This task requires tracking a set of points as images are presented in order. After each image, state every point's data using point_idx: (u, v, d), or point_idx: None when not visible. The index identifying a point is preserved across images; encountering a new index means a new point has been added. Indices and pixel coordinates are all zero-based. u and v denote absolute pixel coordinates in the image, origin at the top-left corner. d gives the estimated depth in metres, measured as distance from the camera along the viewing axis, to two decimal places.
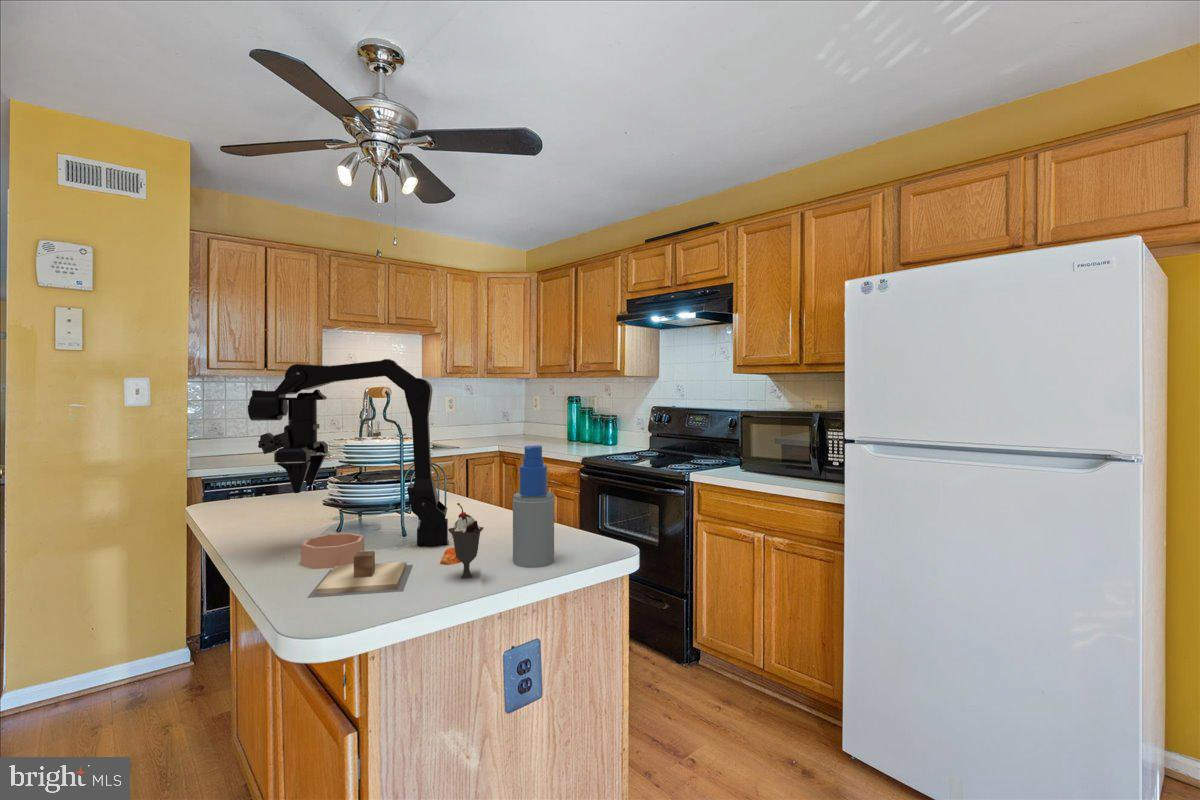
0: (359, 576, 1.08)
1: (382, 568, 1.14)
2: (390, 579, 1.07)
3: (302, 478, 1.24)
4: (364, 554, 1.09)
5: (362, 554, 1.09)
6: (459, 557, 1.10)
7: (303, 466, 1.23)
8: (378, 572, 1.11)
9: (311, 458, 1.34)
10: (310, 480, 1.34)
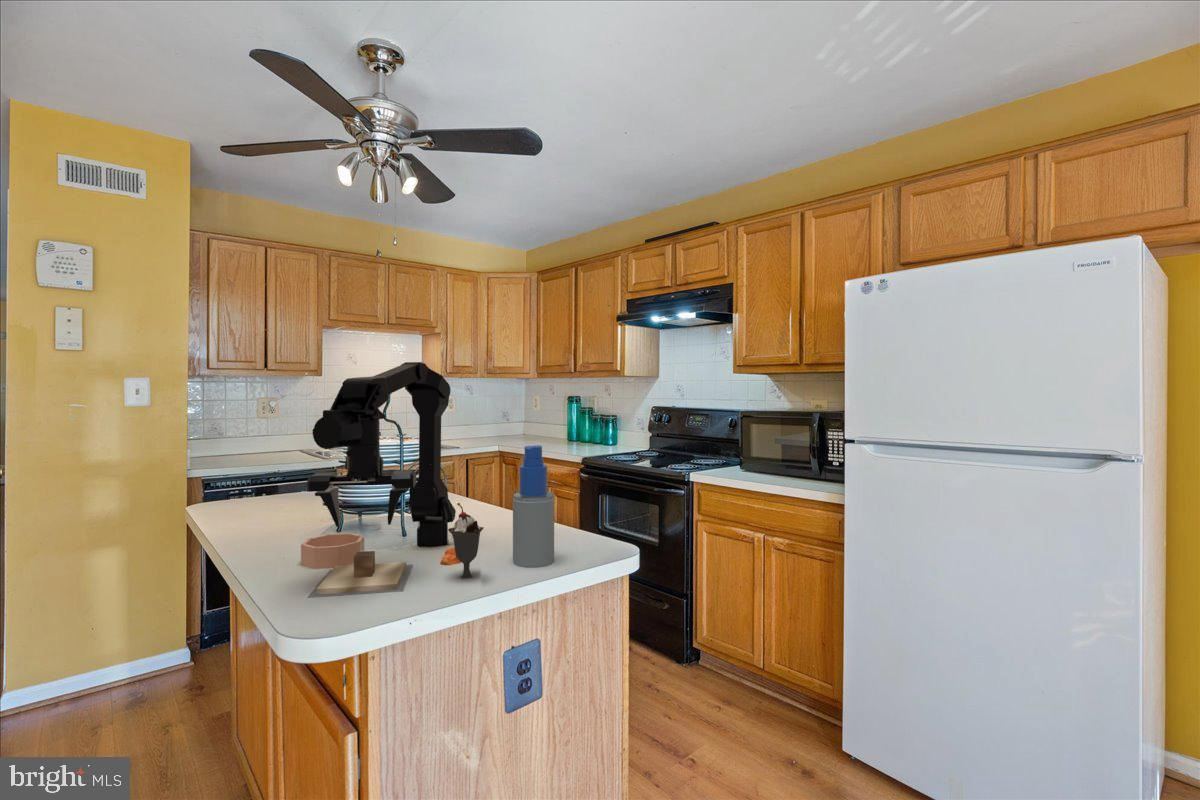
0: (359, 576, 1.08)
1: (382, 568, 1.14)
2: (390, 579, 1.07)
3: None
4: (364, 554, 1.09)
5: (362, 554, 1.09)
6: (459, 557, 1.10)
7: None
8: (378, 572, 1.11)
9: None
10: None
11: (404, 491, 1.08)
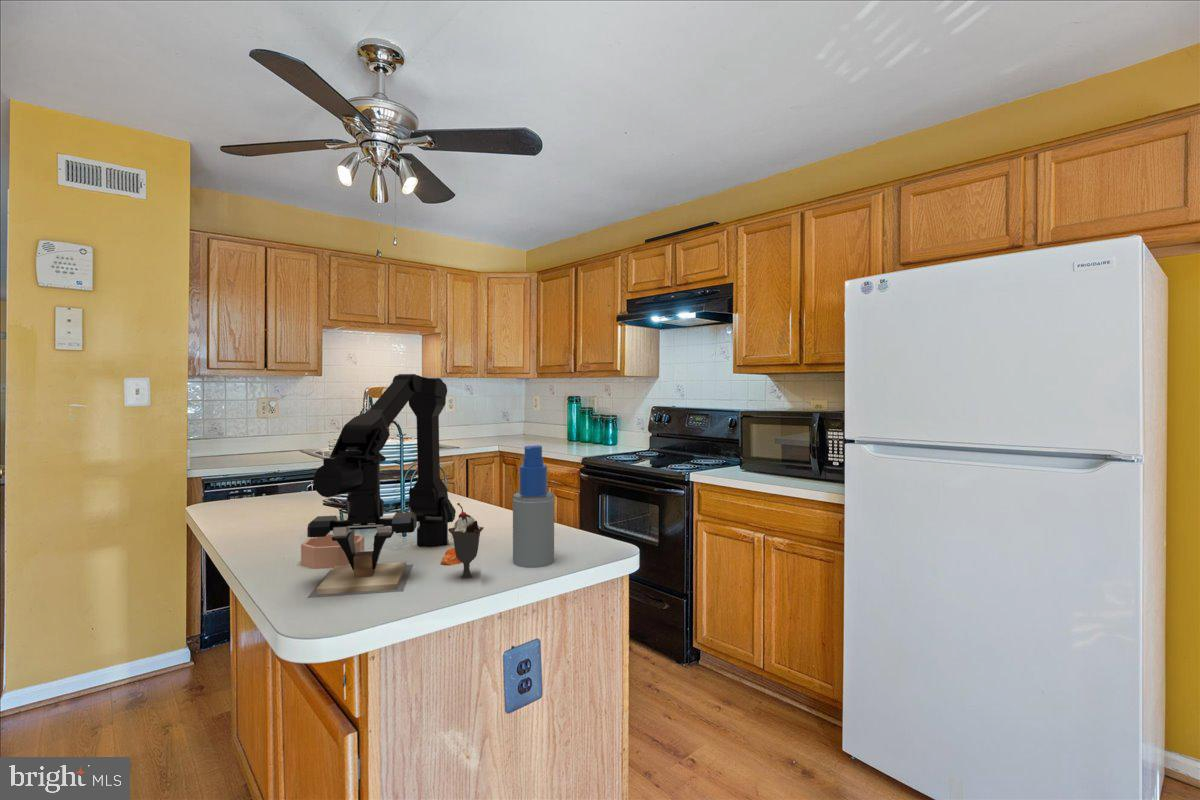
0: (359, 576, 1.08)
1: (382, 568, 1.14)
2: (390, 579, 1.07)
3: None
4: (364, 554, 1.09)
5: (362, 554, 1.09)
6: (459, 557, 1.10)
7: None
8: (378, 572, 1.11)
9: None
10: None
11: (389, 536, 1.08)
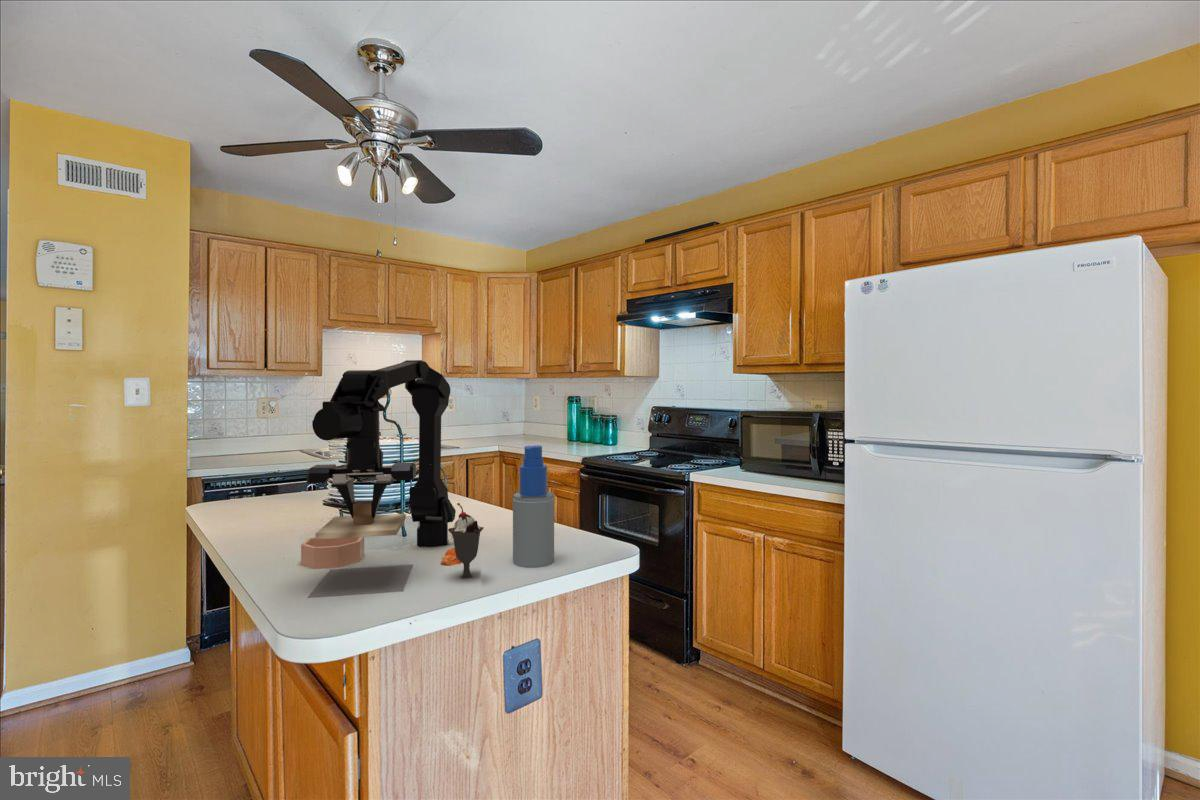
0: (358, 524, 1.08)
1: (381, 518, 1.13)
2: (390, 526, 1.07)
3: None
4: (363, 502, 1.09)
5: (361, 502, 1.09)
6: (459, 557, 1.10)
7: None
8: (377, 521, 1.11)
9: None
10: None
11: (388, 484, 1.08)
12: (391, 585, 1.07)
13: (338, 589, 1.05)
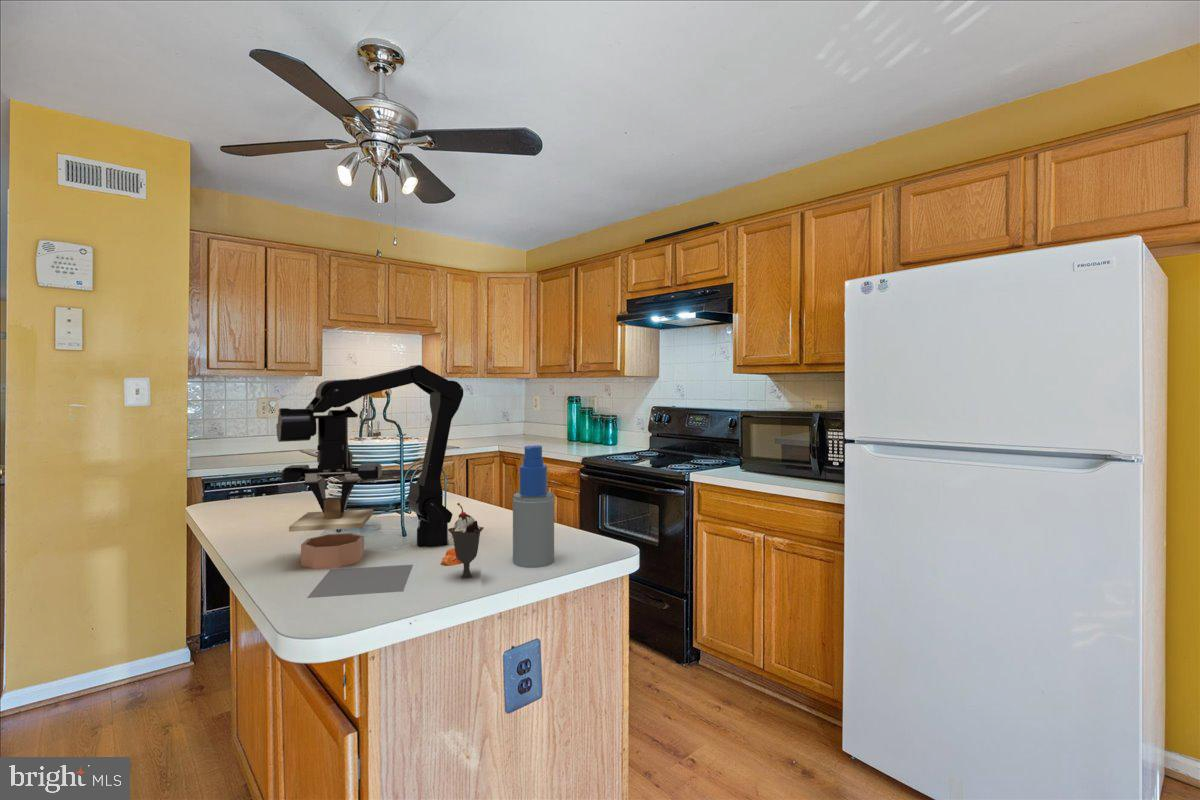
0: (329, 518, 1.20)
1: (350, 513, 1.26)
2: (356, 520, 1.20)
3: None
4: (333, 499, 1.22)
5: (331, 499, 1.21)
6: (459, 557, 1.10)
7: None
8: (346, 516, 1.23)
9: None
10: None
11: (355, 482, 1.20)
12: (391, 585, 1.07)
13: (338, 589, 1.05)
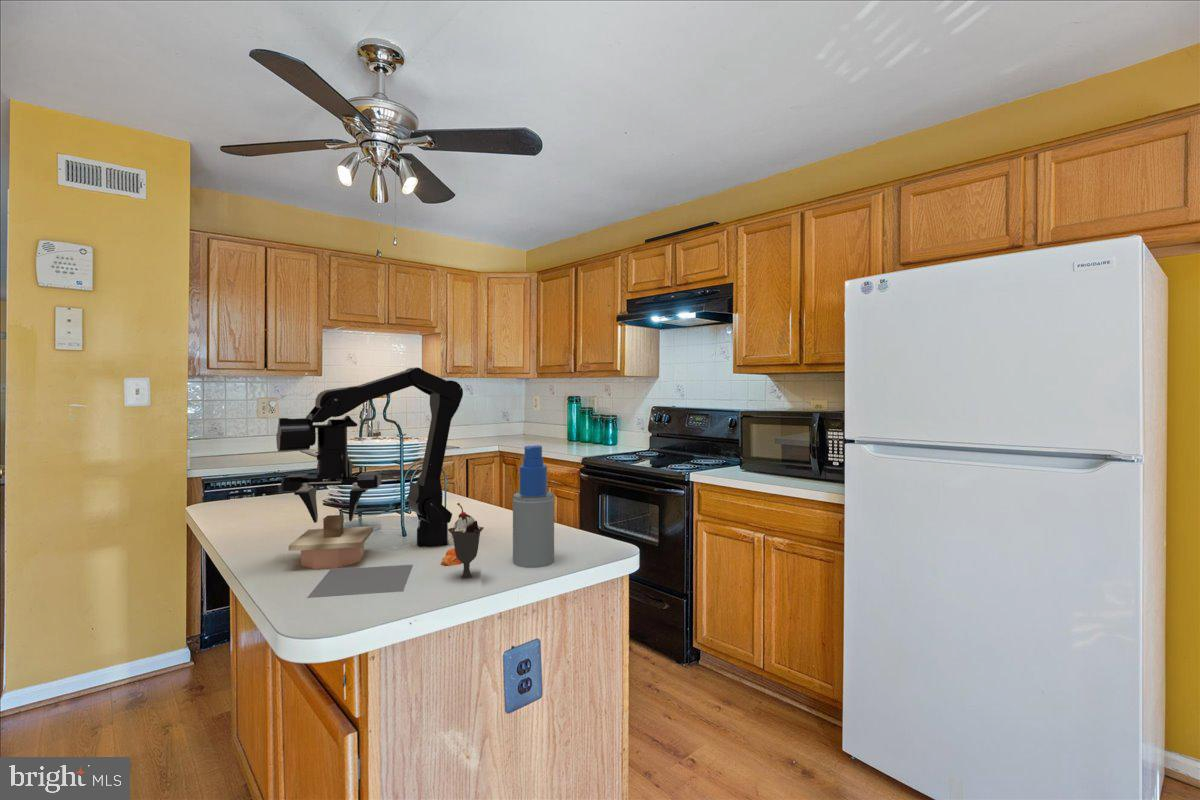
0: (328, 536, 1.21)
1: (350, 531, 1.26)
2: (356, 538, 1.20)
3: None
4: (333, 517, 1.22)
5: (331, 517, 1.22)
6: (459, 557, 1.10)
7: None
8: (346, 534, 1.24)
9: None
10: None
11: (363, 491, 1.21)
12: (391, 585, 1.07)
13: (338, 589, 1.05)
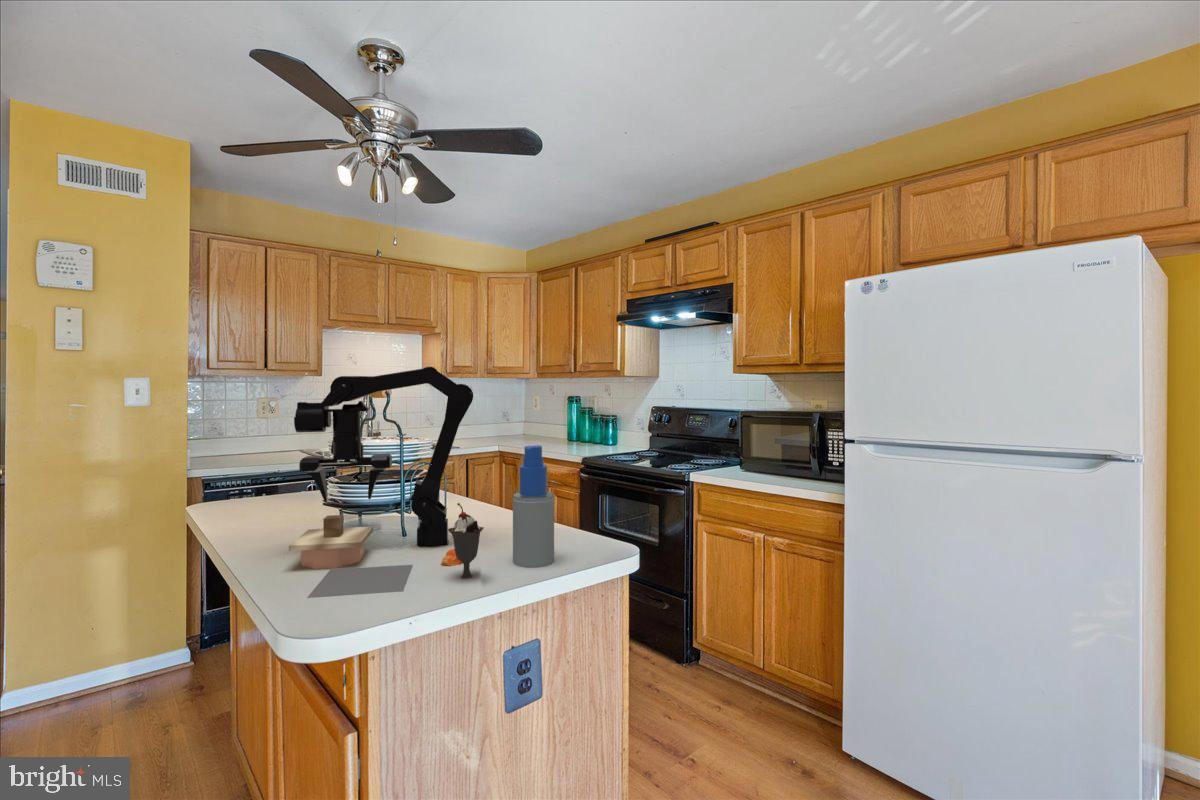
0: (328, 536, 1.21)
1: (350, 531, 1.26)
2: (356, 538, 1.20)
3: None
4: (333, 517, 1.22)
5: (331, 517, 1.22)
6: (459, 557, 1.10)
7: None
8: (346, 534, 1.24)
9: None
10: None
11: (382, 470, 1.30)
12: (391, 585, 1.07)
13: (338, 589, 1.05)
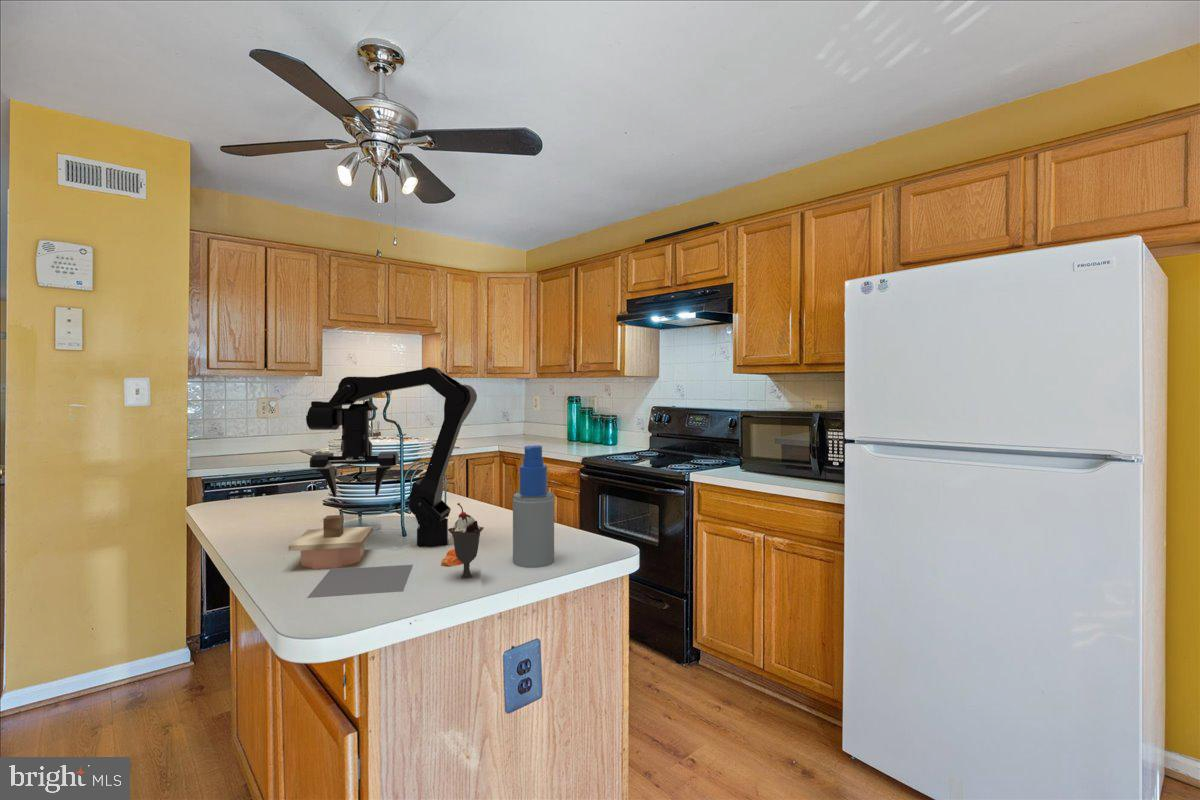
0: (328, 536, 1.21)
1: (350, 531, 1.26)
2: (356, 538, 1.20)
3: None
4: (333, 517, 1.22)
5: (331, 517, 1.22)
6: (459, 557, 1.10)
7: None
8: (346, 534, 1.24)
9: None
10: None
11: (388, 468, 1.34)
12: (391, 585, 1.07)
13: (338, 589, 1.05)
